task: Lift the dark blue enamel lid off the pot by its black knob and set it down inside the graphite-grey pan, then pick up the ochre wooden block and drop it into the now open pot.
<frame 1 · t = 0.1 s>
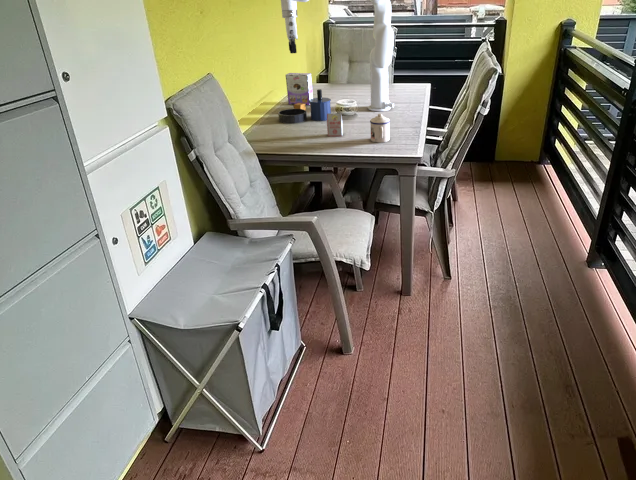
hand: (292, 51, 273), 31 cm above the table, tool pointing down, fingers open, 9 cm apart
teacup with lid: (380, 141, 244), on the table
candy box: (300, 104, 311), on the table
pan: (293, 119, 280), on the table
lid: (319, 100, 276), point 9 cm above the table, touching pot
pot: (321, 118, 281), on the table
block: (300, 112, 293), on the table
white printed carton: (335, 135, 254), on the table
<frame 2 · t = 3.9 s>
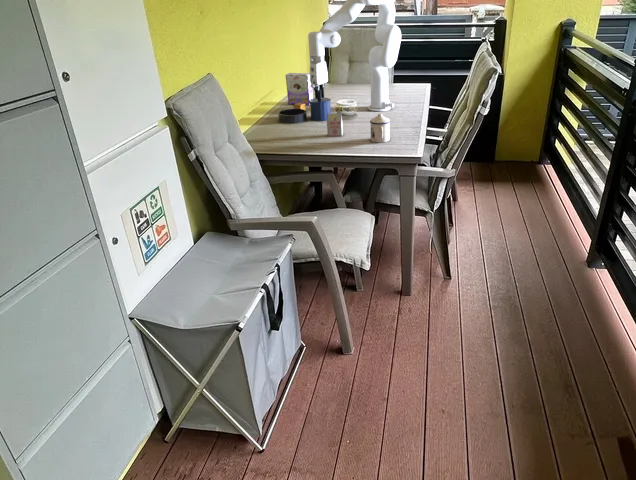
hand: (319, 97, 275), 10 cm above the table, tool pointing down, fingers closed on lid, 2 cm apart
lid: (319, 100, 276), point 9 cm above the table, touching gripper, pot
everything else where it was.
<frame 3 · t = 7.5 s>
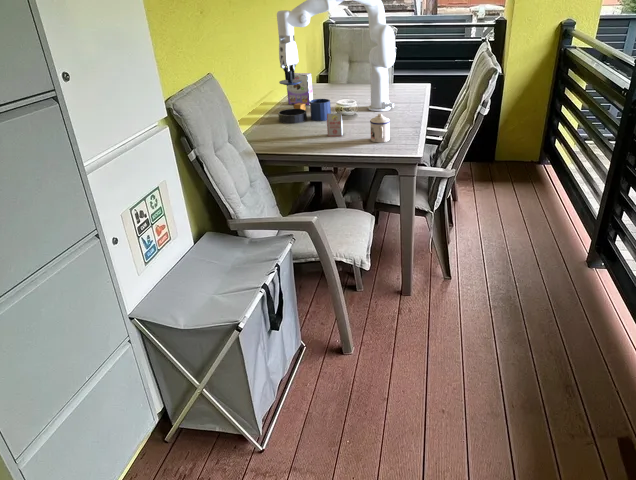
hand: (290, 79, 269), 20 cm above the table, tool pointing down, fingers closed on lid, 2 cm apart
lid: (290, 82, 270), point 19 cm above the table, touching gripper
everything else where it was.
when the fingers open (3 cm above the table, at t = 11.3 s): lid stays where it is, resting on pan.
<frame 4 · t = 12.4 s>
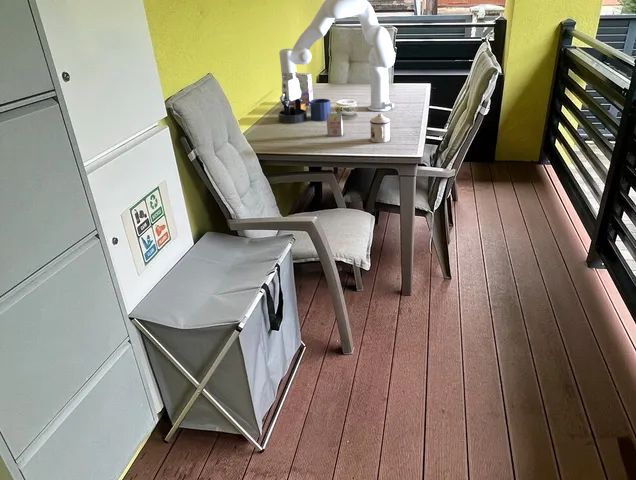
hand: (292, 110, 278), 5 cm above the table, tool pointing down, fingers open, 9 cm apart
lid: (292, 117, 280), point 1 cm above the table, touching pan
everything else where it was.
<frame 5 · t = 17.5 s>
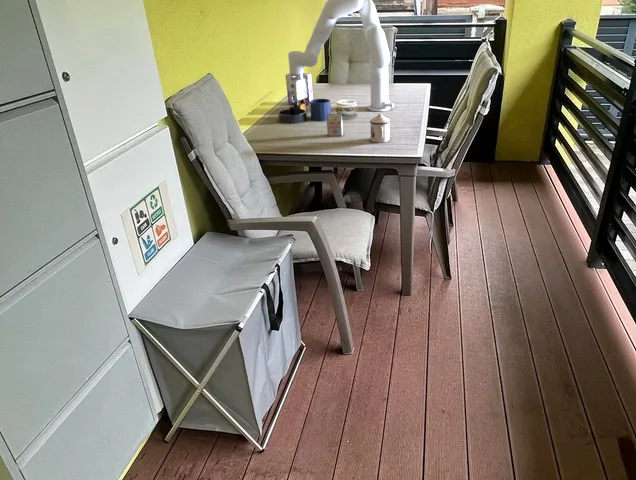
hand: (300, 111, 293), 0 cm above the table, tool pointing down, fingers closed on block, 4 cm apart
block: (300, 112, 293), on the table, touching gripper
everything else where it was.
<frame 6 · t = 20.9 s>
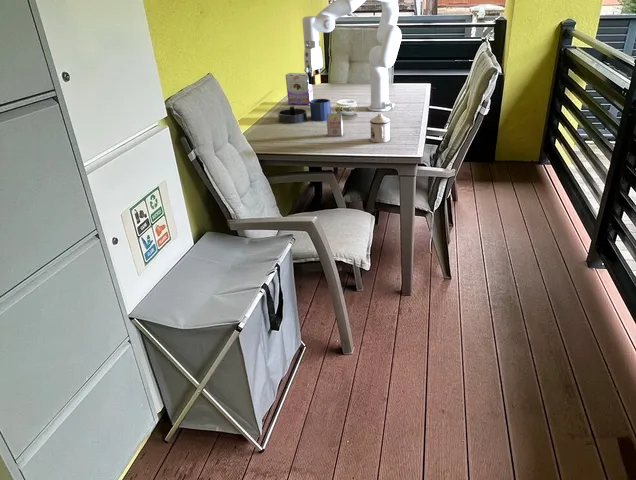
hand: (314, 83, 274), 17 cm above the table, tool pointing down, fingers closed on block, 4 cm apart
block: (314, 83, 274), point 17 cm above the table, touching gripper
everything else where it was.
when the fingers open (7 cm above the table, at t = 24.6 s): block stays where it is, resting on pot.
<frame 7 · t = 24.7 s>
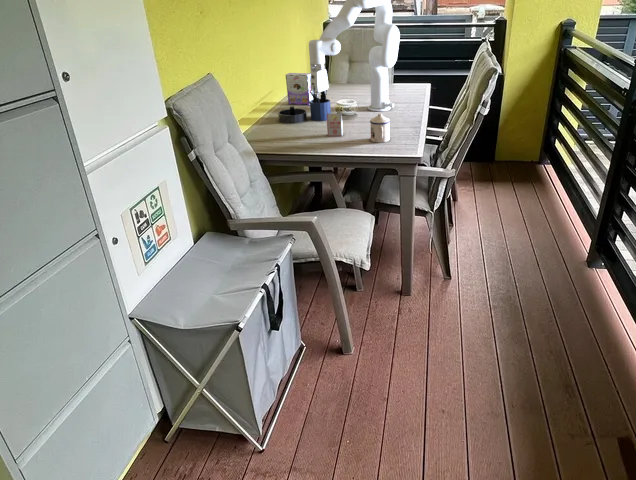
hand: (320, 104, 277), 7 cm above the table, tool pointing down, fingers open, 5 cm apart
block: (321, 117, 281), resting on pot
everything else where it was.
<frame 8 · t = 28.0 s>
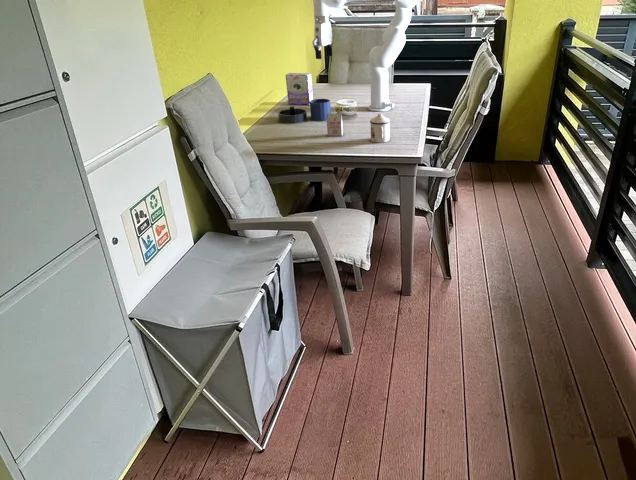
hand: (324, 57, 273), 28 cm above the table, tool pointing down, fingers open, 9 cm apart
nothing on the table moved.
at the end: lid 0.0 cm off-centre in the pan, point 1.1 cm above the pan's base; lid tilted 0°; block 0.0 cm off-centre in the pot, point 0.4 cm above the pot's base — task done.
